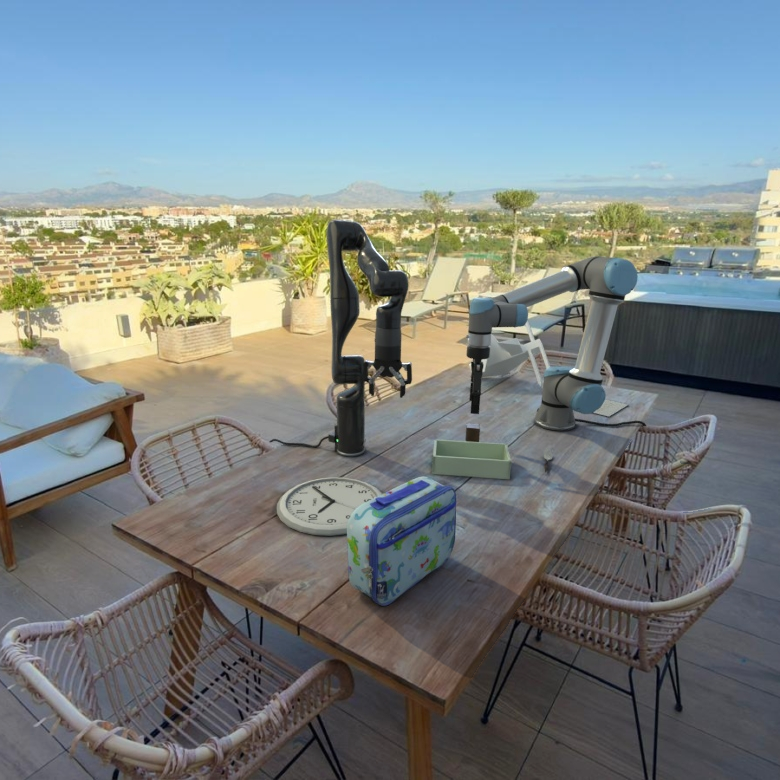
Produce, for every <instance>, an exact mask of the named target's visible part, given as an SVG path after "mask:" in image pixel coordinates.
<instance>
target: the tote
mask: <svg viewBox="0 0 780 780" xmlns="http://www.w3.org/2000/svg"><path fill="white" fill-rule="evenodd" d="M433 442H434V443H433V451H432V469H431V470H432V471H431V473H432V475H441V476H455V477H456V476H457V477H469V478H484V479H485V478H486V479H500V480H501V479H502V480H510V479H511V470H512V460H511V459H512V458H511V455H510V452H509V451H510V450H509V446H508V443H499V442H483V441H479V442H468V441H465V440H450V439H434V441H433Z"/></svg>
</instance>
